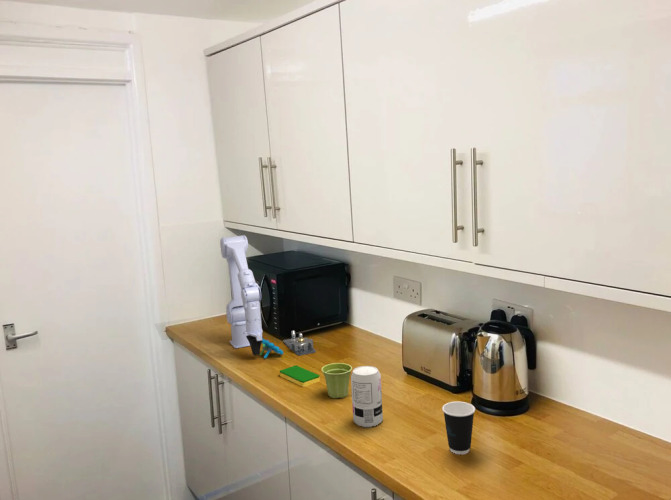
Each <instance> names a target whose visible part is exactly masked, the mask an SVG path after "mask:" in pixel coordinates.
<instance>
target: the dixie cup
mask: <svg viewBox="0 0 671 500" xmlns="http://www.w3.org/2000/svg"><path fill="white" fill-rule="evenodd" d="M441 410H442V412H443V417H444V423H445V430H446V437H447V438H446V439H447V443H448V448H449V450H450V452H451V453H452V452H453V453H452V454H454V453H455V455H460V454H461V456H462V455H466V454H468V453H469V452H470V449H471V447H472V438H473V437H472V436H473V428H474V426H473V424H474V417H475V416H474V415H475V411H476V407H475V406H474V405H473V404H472V403H470V402H465V401H459V400H458V401H450V402H447V403H445V404H443V405H442V409H441Z"/></svg>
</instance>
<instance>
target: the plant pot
mask: <svg viewBox="0 0 671 500" xmlns="http://www.w3.org/2000/svg"><path fill="white" fill-rule="evenodd" d="M352 371H353V367H352V366H351V364H348V363H342V362H333V363H329V364H325V365H324V366H322V367H321V372H322V373H323V376H324V379H325V384H326V388H327V389H326V390H327V395H328V397H330V398H333V399H338V398H341V399H343V398H345V397H347V396H348V395H349V386H350V385H349V384H350V379H351V375H352V373H351V372H352Z"/></svg>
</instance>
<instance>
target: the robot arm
mask: <svg viewBox="0 0 671 500" xmlns="http://www.w3.org/2000/svg"><path fill="white" fill-rule="evenodd" d="M219 244H220V245H219V246H220V254H221V257H222V258H223V259H226V262H227V266H228V267H227V268H228V276H229V283H230V284H229V285H230V290H231V292H230V293H231V299H230V301H229V302H228V303H227V304H226V306H225V308H226V313H225V314H226V321H227V323H229V324H230V331H231V340H229V343H230V344H231V345H232V347H233V348H234V349H240V348H245V347H250V350H251V352H252V354H253V356H258V355H259V356H260V353H261V348H262V340H263V339H264V335H263V332H264V331H263V328H262V325H263V324H262V315H261V314H262V313H261V303H260V302H261V301H262V291H261V287H260V285H258V283H256V279H255V276H254V272H253V271H252V270H251V269H250V268H249V265H248V262H247V261H248V260H247V255H246V254H247V252H248V249H249V241H248V238H247V236H246V235H245V234H242V235H236V236H235V235H234V236H227V237H223V236H222V237H221V238H220V242H219Z"/></svg>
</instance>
